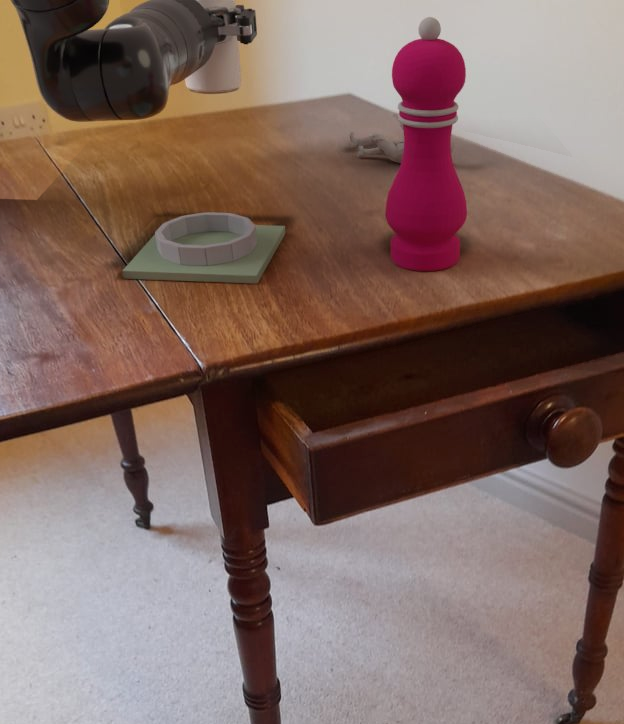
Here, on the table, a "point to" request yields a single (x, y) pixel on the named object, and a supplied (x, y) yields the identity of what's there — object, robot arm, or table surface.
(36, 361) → the table surface
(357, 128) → the table surface
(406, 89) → the pepper mill
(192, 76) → the can
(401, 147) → the soldier figure
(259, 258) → the dock pad
